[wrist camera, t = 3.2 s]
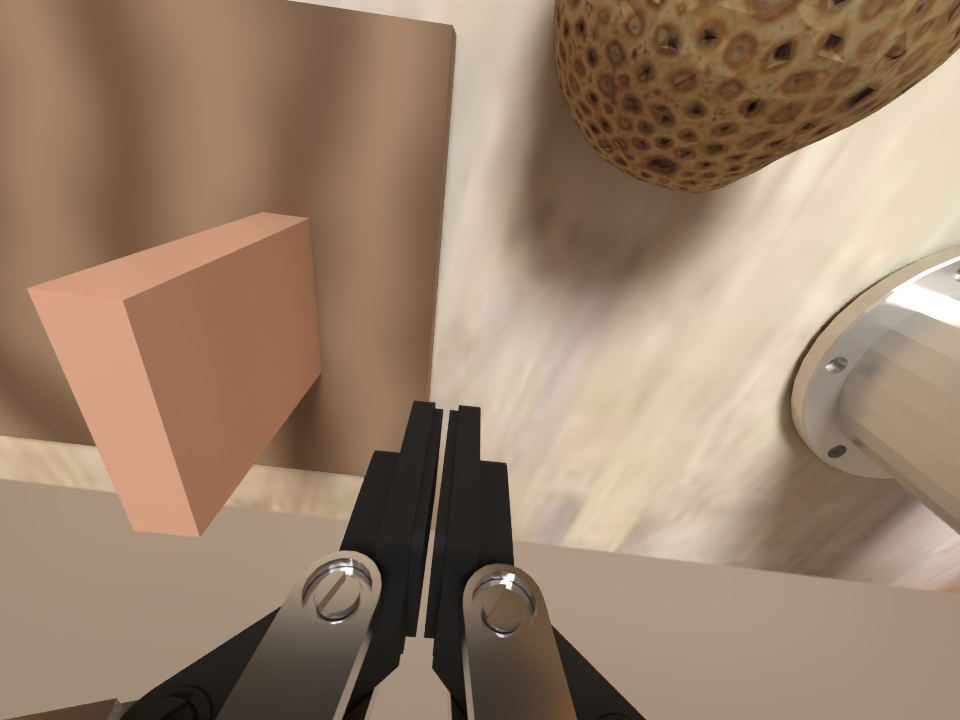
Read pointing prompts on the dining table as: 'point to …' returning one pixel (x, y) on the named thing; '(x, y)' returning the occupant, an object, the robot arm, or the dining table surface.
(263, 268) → the tile
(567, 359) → the dining table surface
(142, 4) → the board
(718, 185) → the natural sponge
